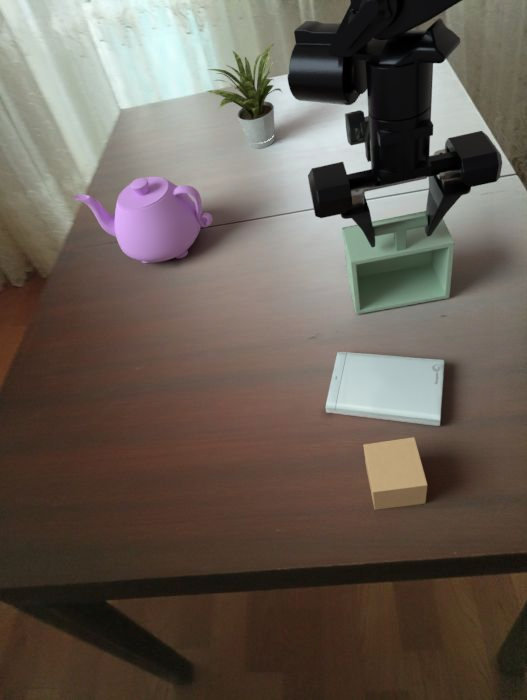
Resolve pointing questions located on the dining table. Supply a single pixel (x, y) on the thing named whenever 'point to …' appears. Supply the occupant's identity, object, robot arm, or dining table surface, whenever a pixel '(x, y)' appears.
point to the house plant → (252, 100)
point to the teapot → (153, 219)
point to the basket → (398, 263)
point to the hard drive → (387, 388)
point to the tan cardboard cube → (395, 473)
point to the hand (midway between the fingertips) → (400, 239)
